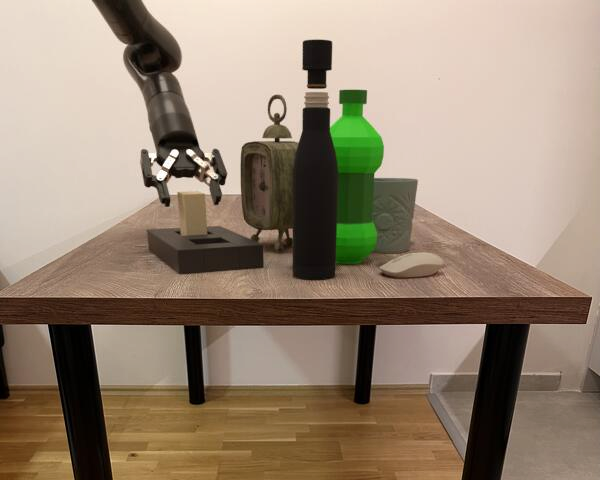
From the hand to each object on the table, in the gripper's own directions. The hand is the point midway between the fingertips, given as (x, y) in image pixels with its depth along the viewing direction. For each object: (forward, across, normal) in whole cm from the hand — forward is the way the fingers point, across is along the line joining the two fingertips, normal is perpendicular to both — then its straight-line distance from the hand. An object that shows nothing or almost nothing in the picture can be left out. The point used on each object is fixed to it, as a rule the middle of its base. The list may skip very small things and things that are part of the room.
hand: (193, 202), depth 108 cm
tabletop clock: (+5, +16, +7) cm, 18 cm away
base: (+9, 0, +3) cm, 10 cm away
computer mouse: (+27, +26, -14) cm, 40 cm away
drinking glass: (+12, +33, 0) cm, 35 cm away
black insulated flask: (+24, +12, -11) cm, 29 cm away
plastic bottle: (+18, +21, -5) cm, 28 cm away
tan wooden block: (+6, 0, +6) cm, 8 cm away
